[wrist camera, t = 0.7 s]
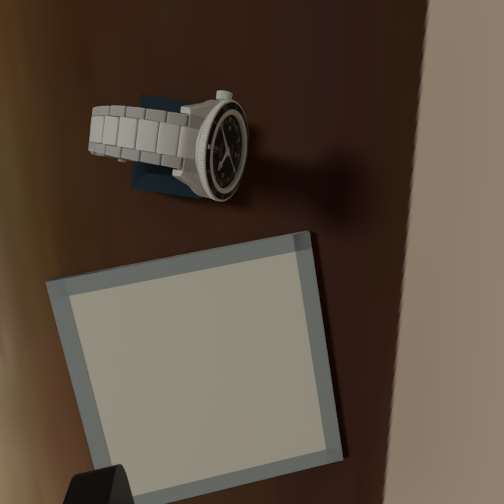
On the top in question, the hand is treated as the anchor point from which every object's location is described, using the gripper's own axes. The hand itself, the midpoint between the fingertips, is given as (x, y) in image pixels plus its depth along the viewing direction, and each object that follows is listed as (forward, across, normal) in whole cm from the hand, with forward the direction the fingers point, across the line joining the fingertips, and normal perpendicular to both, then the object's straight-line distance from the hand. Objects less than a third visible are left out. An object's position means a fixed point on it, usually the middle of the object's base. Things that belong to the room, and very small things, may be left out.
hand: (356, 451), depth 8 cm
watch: (+25, +2, -6) cm, 26 cm away
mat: (+24, +4, +10) cm, 27 cm away
